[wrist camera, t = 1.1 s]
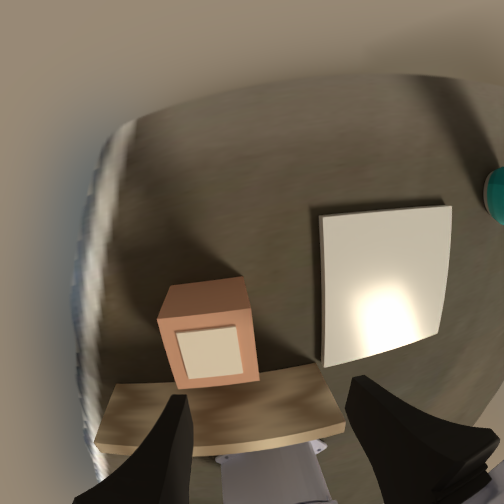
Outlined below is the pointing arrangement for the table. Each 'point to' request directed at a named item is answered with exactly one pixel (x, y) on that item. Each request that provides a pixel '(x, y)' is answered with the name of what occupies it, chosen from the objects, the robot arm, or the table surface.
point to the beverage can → (495, 194)
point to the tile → (382, 279)
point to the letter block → (209, 333)
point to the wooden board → (228, 413)
